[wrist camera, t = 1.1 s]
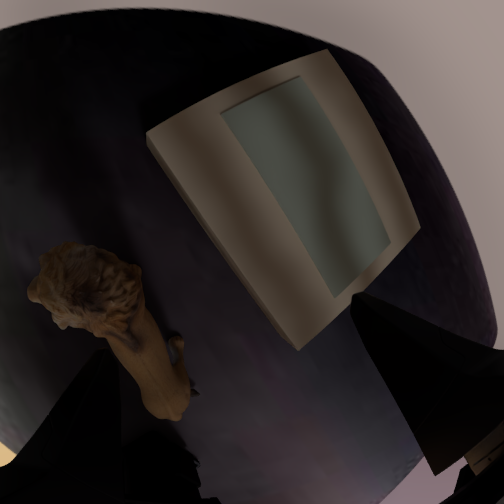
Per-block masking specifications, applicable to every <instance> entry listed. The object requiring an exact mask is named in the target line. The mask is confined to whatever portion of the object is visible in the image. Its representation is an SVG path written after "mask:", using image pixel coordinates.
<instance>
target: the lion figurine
mask: <svg viewBox="0 0 504 504" xmlns="http://www.w3.org/2000/svg"><path fill="white" fill-rule="evenodd" d="M39 262H40V266H41V272H40V274H39V276H36V277H35V278H34V279H33V280H32V282H31V284H30V285H29V287H28V290H27V293H28V297H29V299H30V300H31V301H32V302H38V303H41V304H43V305H44V306H45V308H46V309H47V310H49V311H50V312H51V313H52V319H53V321H54V322H55V323H57V325H58V326H59V327H60V328H61V329H62V330H64V329H66V328H67V326H69V325H70V326H72V327H74V328H84V329H86V330H87V331H89V332H92V333H93V334H94V335H95V336H96V337H105V338H106V339H107V340H108V342H109V344H110V346H111V348H112V350H113V352H114V354H115V355H116V356H117V358H118V359H119V361H120V362H121V363H122V365H123V366H124V367H125V368H126V369H127V370H128V372H129V373H130V374H131V375H132V376H133V378H134V379H135V380H136V382H137V383H138V385H139V387H140V389H141V397H142V401H143V404H144V406H145V407H146V409H147V410H148V411H149V412H150V413H151V414H153V415H154V416H155V417H157V418H158V419H170V420H172V421H179V420H180V419H181V418H182V413H183V412H184V411H185V410H186V408H187V406H188V404H189V401H190V397H194V396H199V395H200V393H198V392H197V391H196V390H195V389H190V382H189V378H188V374H187V372H186V369H185V366H184V359H183V348H184V341H183V339H182V338H181V337H180V336H174V337H172V338H170V339H169V347H170V349H171V352H172V354H173V359H174V361H173V365H171V363H170V359H169V356H168V352H167V349H166V345H165V342H164V340H163V338H162V335H161V333H160V331H159V328H158V326H157V324H156V322H155V320H154V318H153V317H152V315H151V314H150V312H149V311H148V310H147V309H146V307H145V297H144V292H143V290H142V282H141V275H142V271H141V268H140V267H139V266H137V265H135V264H128V263H127V262H125V261H123V260H119V259H118V257H117V255H116V254H114V253H112V252H108V251H107V250H105V249H98V248H97V247H96V246H94V245H89V246H85V245H83V244H78V243H76V242H75V241H74V242H66V241H65V242H63V243H62V245H60V246H56V247H53V248H51V249H50V251H49V252H48V253H45V254H42V255H41V256H40V257H39Z"/></svg>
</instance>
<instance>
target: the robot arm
mask: <svg viewBox="0 0 504 504" xmlns="http://www.w3.org/2000/svg"><path fill="white" fill-rule="evenodd" d="M350 314H351V317H352V320H353V322H354V324H355V326H356V328H357V331H358V333H359V335H360V337H361V340H362V342H363V344H364V346H365V348H366V350H367V352H368V354H369V355H370V357H371V359H372V360H373V362H374V364H375V366H376V367H377V369H378V371H379V373H380V374H381V376H382V378H383V380H384V381H385V383H386V385H387V387H388V388H389V390H390V392H391V394H392V396H393V397H394V399H395V401H396V403H397V405H398V406H399V408H400V410H401V412H402V414H403V416H404V417H405V419H406V421H407V423H408V425H409V427H410V429H411V430H412V432H413V434H414V436H415V438H416V440H417V442H418V444H419V446H420V448H421V450H422V452H423V454H424V456H425V458H426V460H427V462H428V464H429V466H430V468H431V470H432V472H433V474H434V475H435V476H436V475H438V474H440V473H441V472H442V471H444V470H445V469H447V468H448V467H450V466H451V465H452V464H454V463H455V462H456V461H458V460H459V459H461V458H462V457H463V456H464V458H465V459H466V461H467V463H468V464H467V465H465V466H464V467H463V468H462V469H460V472H459V476H458V480H457V483H456V487H455V490H454V493H453V494H452V495H451V496H449V497H448V498H447V499H445V500H444V501H442V502H441V503H439V504H504V350H498V349H494V348H491V347H488V346H485V345H482V344H480V343H477V342H474V341H471V340H469V339H466V338H464V337H461V336H458V335H456V334H454V333H452V332H449V331H447V330H445V329H443V328H441V327H438V326H436V325H434V324H432V323H430V322H428V321H426V320H424V319H422V318H419V317H417V316H415V315H413V314H411V313H409V312H407V311H405V310H402V309H400V308H398V307H396V306H394V305H392V304H389V303H387V302H385V301H383V300H381V299H379V298H377V297H374V296H372V295H370V294H368V293H366V292H363V291H361V292H358V293H354V294H353V295H352V299H351V307H350ZM152 436H155V437H152ZM198 467H200V463H199V461H198V460H197V459H195V458H193V456H192V455H191V454H189V453H188V452H187V451H185V450H184V449H182V448H181V447H179V446H178V445H176V444H175V443H171V442H170V441H169V440H167V439H166V438H165V437H163V436H162V435H161V434H159V433H158V432H156V431H150V432H148V433H147V434H145V435H144V436H142V437H140V438H139V439H137V440H135V441H134V442H132V443H131V444H129V445H127V446H126V447H124V448H122V449H121V397H120V384H119V368H118V364H117V361H116V360H115V358H114V357H113V355H112V354H111V352H110V350H109V349H108V348H100V349H97V350H96V351H95V352H94V353H93V355H92V356H91V357H90V359H89V360H88V361H87V362H86V364H85V365H84V366H83V368H82V369H81V370H80V372H79V373H78V374H77V376H76V377H75V378H74V380H73V381H72V382H71V384H70V385H69V386H68V388H67V389H66V390H65V392H64V393H63V394H62V396H61V397H60V398H59V400H58V401H57V403H56V404H55V405H54V407H53V408H52V410H51V411H50V412H49V415H47V417H46V418H45V420H44V421H43V422H42V424H41V425H40V426H39V428H38V429H37V431H36V432H35V433H34V434H33V436H32V437H31V438H30V440H29V441H28V442H27V443H26V444H25V446H24V447H23V448H22V449H21V451H20V452H19V453H18V454H17V456H16V457H15V458H14V459H13V460H12V461H11V462H10V463H8V464H7V465H5V466H2V467H0V504H221V503H220V501H219V500H218V498H217V497H211V498H206V499H201V496H200V493H199V490H198V488H199V487H201V482H200V479H199V476H198V473H197V468H198Z"/></svg>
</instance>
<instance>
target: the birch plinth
mask: <svg viewBox="0 0 504 504" xmlns="http://www.w3.org/2000/svg"><path fill="white" fill-rule="evenodd" d="M146 141H147V146H148V148H149V149H150V151H151V152H152V154H153V155H154V157H155V158H156V160H157V161H158V163H159V164H160V166H161V167H162V169H163V170H164V172H165V173H166V175H167V176H168V178H169V179H170V181H171V182H172V184H173V185H174V187H175V188H176V190H177V191H178V193H179V194H180V195H181V197H182V198H183V200H184V201H185V203H186V204H187V206H188V207H189V209H190V210H191V212H192V213H193V214H194V216H195V217H196V219H197V220H198V222H199V223H200V225H201V226H202V227H203V229H204V230H205V232H206V233H207V235H208V236H209V237H210V239H211V240H212V242H213V243H214V245H215V246H216V247H217V249H218V250H219V252H220V253H221V254H222V256H223V257H224V259H225V260H226V262H227V263H228V264H229V266H230V267H231V269H232V270H233V271H234V273H235V274H236V276H237V277H238V278H239V280H240V281H241V283H242V284H243V285H244V287H245V288H246V289H247V291H248V292H249V294H250V295H251V296H252V298H253V299H254V300H255V302H256V303H257V305H258V306H259V307H260V309H261V310H262V311H263V313H264V314H265V316H266V317H267V318H268V320H269V321H270V322H271V324H272V325H273V326H274V328H275V329H276V330H277V332H278V333H279V335H280V336H281V337H282V338H283V339H285V340H286V341H287V342H288V343H289V344H291V345H292V346H293V347H294V348H295V349H297V350H298V351H299V350H300V349H301V348H302V347H303V346H304V345H306V344H307V343H308V342H309V341H310V340H311V339H312V338H314V337H315V336H316V335H317V334H318V333H319V332H320V331H321V330H322V329H324V328H325V327H326V326H327V325H328V324H329V323H330V322H331V321H332V320H333V319H334V318H335V317H336V316H338V315H339V314H340V313H341V312H342V311H343V310H344V309H345V308H346V307H347V306H348V305H349V304H350V303H351V299H352V295H353V294H354V293H358V292H361V291H363V290H364V289H365V288H366V287H367V286H368V285H369V284H370V283H371V282H372V281H373V280H374V279H375V278H376V277H377V276H378V275H379V274H380V273H381V272H382V271H383V269H384V268H385V267H386V266H387V265H388V264H389V263H390V262H391V261H392V260H393V259H394V258H395V256H396V255H397V254H398V253H399V252H400V251H401V250H402V249H403V248H404V246H405V245H406V244H407V243H408V242H409V241H410V240H411V238H412V237H413V236H414V235H415V234H416V233H417V231H418V230H419V229H420V228H421V227H420V225H419V222H418V219H417V216H416V214H415V211H414V209H413V206H412V203H411V201H410V198H409V196H408V193H407V191H406V189H405V186H404V184H403V182H402V179H401V177H400V175H399V173H398V170H397V168H396V166H395V164H394V162H393V160H392V158H391V155H390V153H389V151H388V149H387V147H386V145H385V143H384V141H383V139H382V137H381V135H380V134H379V132H378V130H377V128H376V126H375V124H374V122H373V121H372V119H371V117H370V115H369V113H368V112H367V110H366V108H365V106H364V105H363V103H362V101H361V100H360V98H359V96H358V95H357V93H356V91H355V90H354V88H353V87H352V85H351V83H350V82H349V80H348V79H347V77H346V76H345V74H344V73H343V71H342V70H341V68H340V67H339V65H338V64H337V62H336V61H335V59H334V58H333V57H332V55H331V54H330V52H329V51H328V50H327V49H326V50H322V51H319V52H316V53H313V54H310V55H307V56H304V57H301V58H298V59H295V60H292V61H290V62H287V63H284V64H282V65H279V66H276V67H274V68H271V69H269V70H266V71H264V72H261V73H259V74H257V75H254V76H252V77H250V78H247V79H245V80H243V81H241V82H238V83H236V84H234V85H232V86H230V87H228V88H226V89H223V90H221V91H219V92H217V93H215V94H213V95H211V96H209V97H207V98H205V99H203V100H202V101H200V102H198V103H196V104H194V105H192V106H190V107H188V108H187V109H185V110H183V111H181V112H179V113H178V114H176V115H174V116H173V117H171V118H169V119H167V120H166V121H164V122H162V123H161V124H159V125H157V126H156V127H154V128H153V129H151V130H149V131H148V132H146Z"/></svg>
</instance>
